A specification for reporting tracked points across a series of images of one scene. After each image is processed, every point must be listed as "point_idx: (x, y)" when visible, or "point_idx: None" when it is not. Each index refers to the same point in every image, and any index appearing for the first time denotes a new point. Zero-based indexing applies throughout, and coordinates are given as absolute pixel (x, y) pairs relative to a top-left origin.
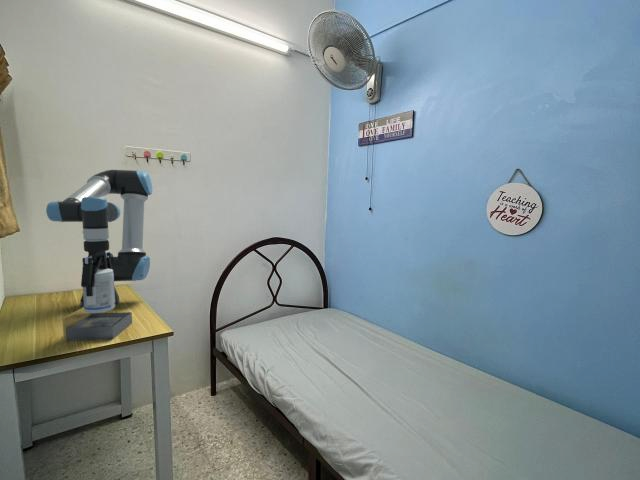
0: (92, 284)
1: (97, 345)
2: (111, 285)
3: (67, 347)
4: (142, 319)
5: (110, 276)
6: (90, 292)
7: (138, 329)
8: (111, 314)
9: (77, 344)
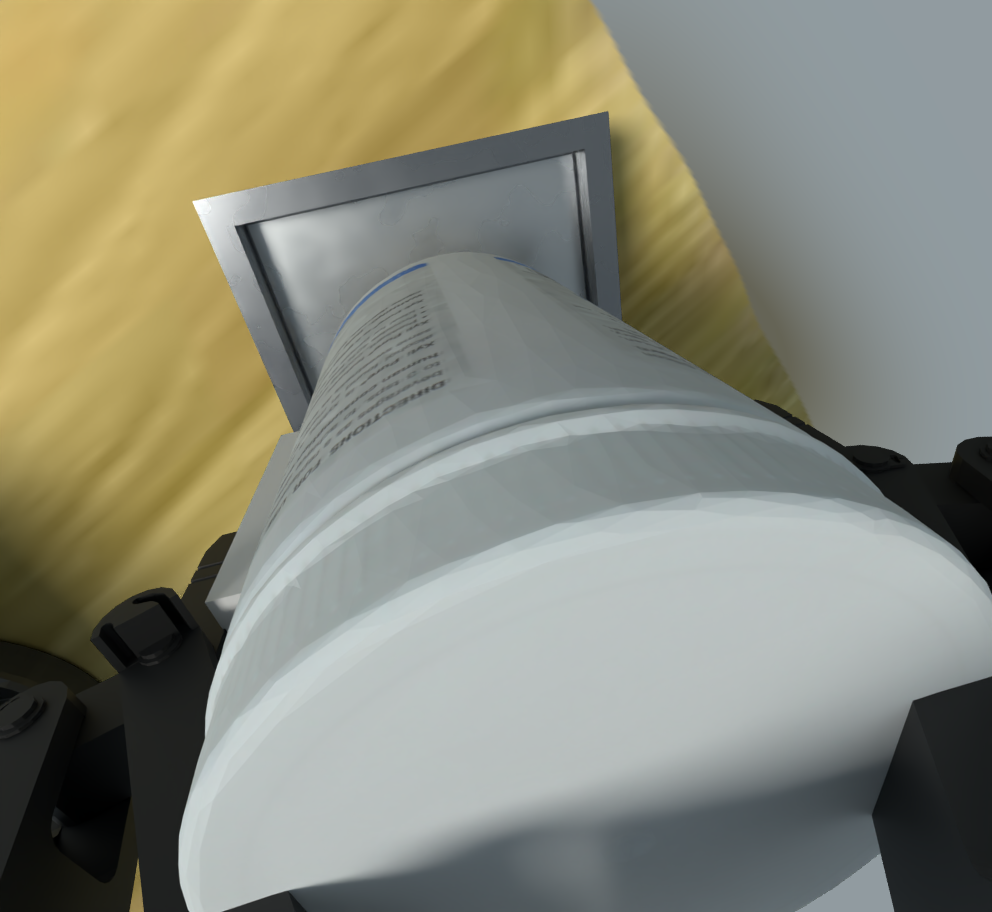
0: (895, 470)
1: (673, 169)
2: (524, 314)
3: (688, 344)
4: (102, 154)
5: (618, 395)
6: (803, 424)
7: (345, 13)
8: (298, 378)
9: (651, 320)
